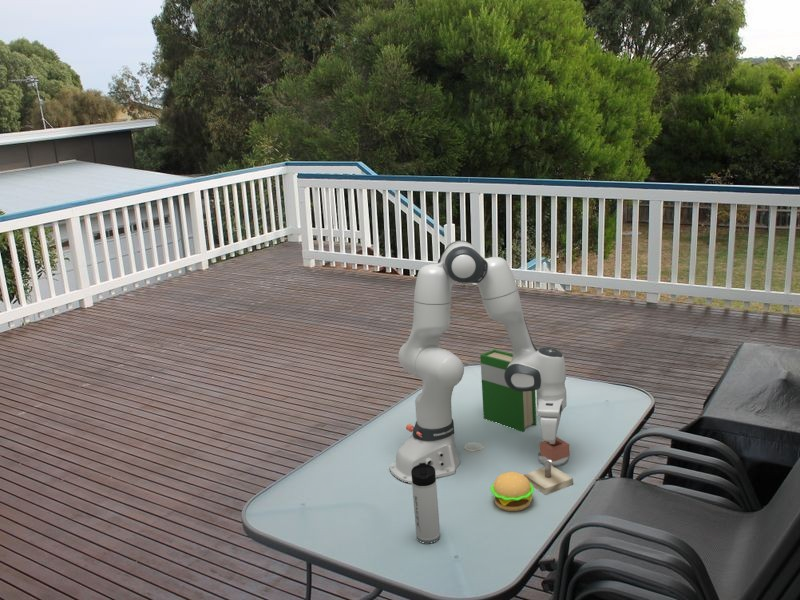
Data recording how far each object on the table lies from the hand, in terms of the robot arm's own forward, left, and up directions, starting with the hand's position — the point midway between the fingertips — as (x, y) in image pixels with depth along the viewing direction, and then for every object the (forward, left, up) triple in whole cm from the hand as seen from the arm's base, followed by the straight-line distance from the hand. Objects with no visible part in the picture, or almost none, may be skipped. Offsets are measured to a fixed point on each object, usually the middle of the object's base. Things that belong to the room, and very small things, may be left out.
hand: (552, 441), depth 228 cm
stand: (-10, -10, -6) cm, 15 cm away
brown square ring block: (+1, 0, -5) cm, 5 cm away
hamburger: (-25, -13, -7) cm, 29 cm away
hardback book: (+6, +31, -7) cm, 33 cm away
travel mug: (-53, -14, -6) cm, 55 cm away
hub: (0, 0, -6) cm, 6 cm away
